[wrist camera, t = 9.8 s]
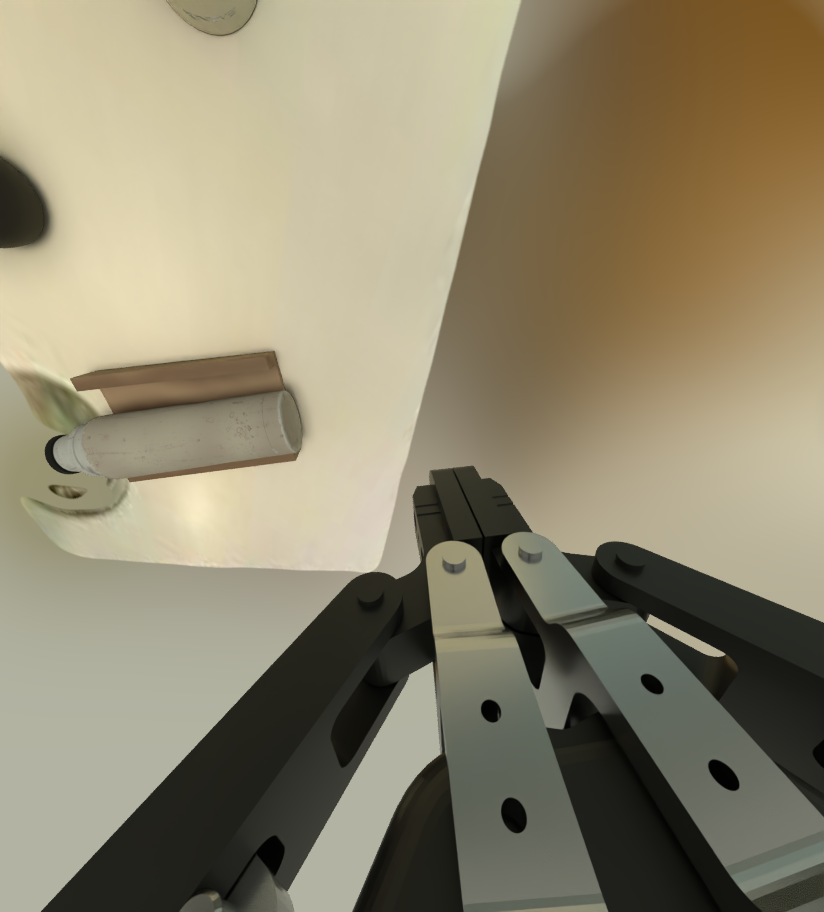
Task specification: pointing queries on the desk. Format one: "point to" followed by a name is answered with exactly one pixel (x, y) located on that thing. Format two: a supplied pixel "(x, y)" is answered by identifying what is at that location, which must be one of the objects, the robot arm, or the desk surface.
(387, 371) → the desk surface
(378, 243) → the desk surface
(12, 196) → the cola bottle
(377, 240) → the desk surface
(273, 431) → the thermos bottle
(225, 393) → the walnut trough
